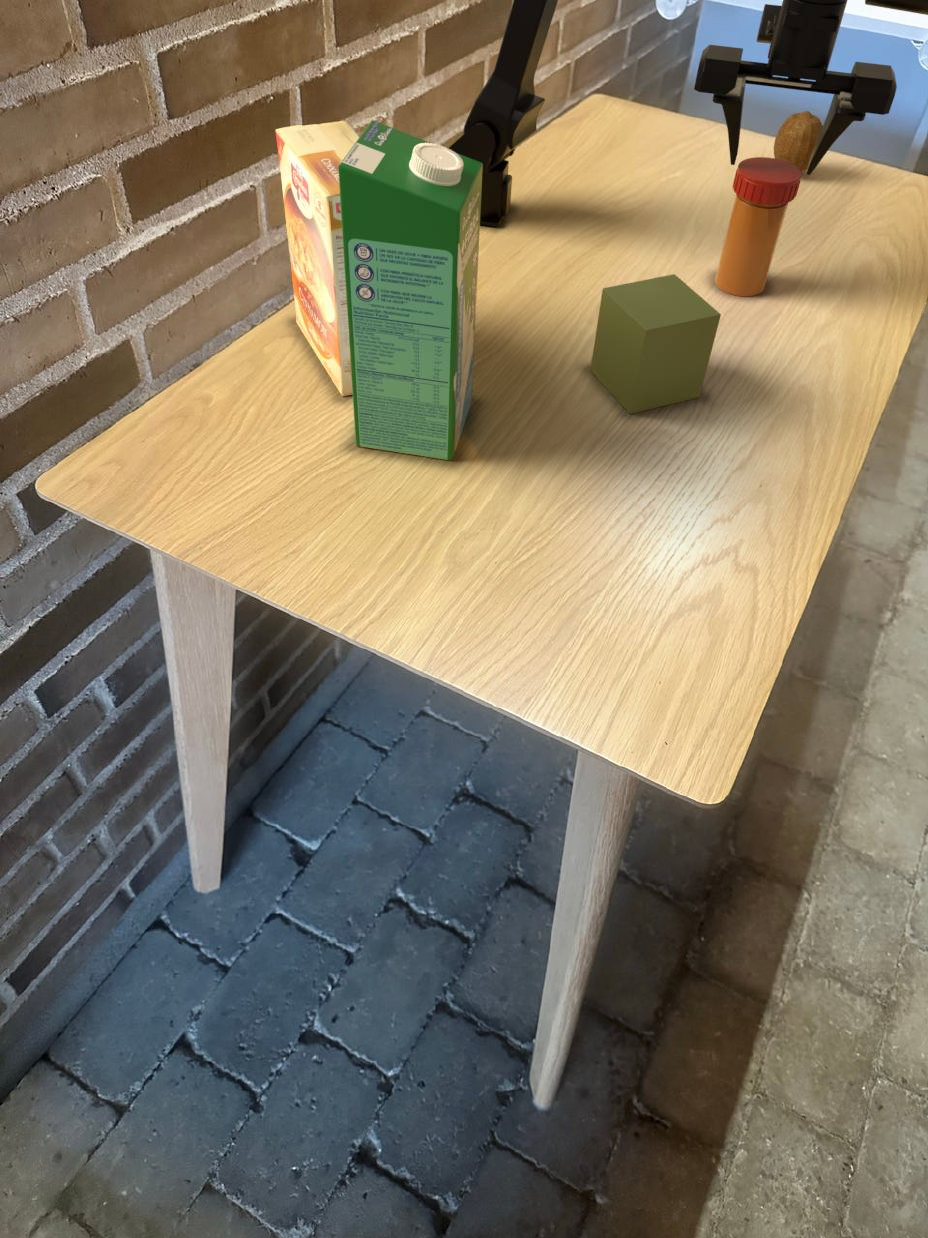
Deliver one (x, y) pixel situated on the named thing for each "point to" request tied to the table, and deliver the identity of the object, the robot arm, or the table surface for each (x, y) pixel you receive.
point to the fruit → (797, 139)
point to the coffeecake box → (318, 238)
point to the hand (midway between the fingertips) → (770, 168)
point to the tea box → (653, 342)
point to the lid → (767, 181)
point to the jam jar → (749, 247)
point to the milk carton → (410, 289)
